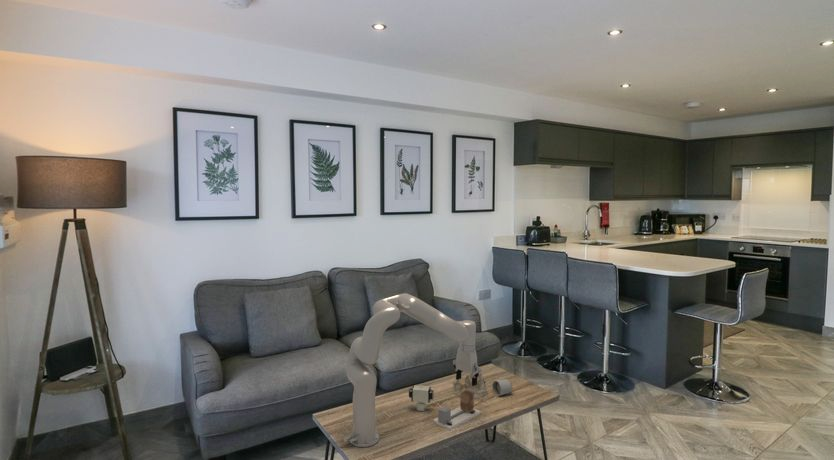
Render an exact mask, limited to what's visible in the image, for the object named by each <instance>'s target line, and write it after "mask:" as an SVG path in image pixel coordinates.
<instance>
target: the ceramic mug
mask: <svg viewBox="0 0 834 460" xmlns="http://www.w3.org/2000/svg"><path fill="white" fill-rule="evenodd" d="M491 386H492V391H493V393H494V394H495V396H497V397H498V396H499V397H500V396H503V395H508V394H510V393H511V392H512V391H513V384H512V382H511V381H510V380H509V379H506V378H505V379H504V378H503V379H498V380H496V379H495V380H493V382H492V385H491Z"/></svg>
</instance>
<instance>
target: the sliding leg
mask: <svg viewBox="0 0 834 460" xmlns="http://www.w3.org/2000/svg"><path fill="white" fill-rule="evenodd" d="M474 401H475V400H474V392H472V391H470V390H465V391H463V392H461V397H460V406H461V409H462V410H464V411H466V412H468V411H469V410H471V411H474V412H475V410H474V409H475V408H474V407H475V406H474V405H475V404H474V403H475V402H474ZM473 408H474V409H473Z"/></svg>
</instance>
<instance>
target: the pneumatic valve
mask: <svg viewBox="0 0 834 460" xmlns="http://www.w3.org/2000/svg"><path fill="white" fill-rule="evenodd" d="M434 396H435V392H434V389H432V386H429V385H427V386H426V385H417V384H415V385H412V387H411V388H410V387H409V389H408V398H410V400H411V402H413V403H415V408H416V410H417V411H421V412H425V411H426V410H427V409H428V404H430V403H431V401H433V400H434V398H435V397H434Z"/></svg>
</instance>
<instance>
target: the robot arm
mask: <svg viewBox="0 0 834 460" xmlns="http://www.w3.org/2000/svg"><path fill="white" fill-rule="evenodd" d="M372 313H373V315H372V316H371V317H370V318H369V319H368V321H366V324H365V326H364V328H363V333H362V336H359V337H358V336H357V338H355V339H354V340H353V342H352V343H351V345H350V349H349V352H348V353H349V354H348V358H347V363H346V368H345V374H346V378H347V379H348V380H349V381H350V382H351V384H352V386H353V394H352V430H350V434H349V435H347V436H345V437H343V442H344V443H347V442H350V444H351V445H353V446H355V447H357V448H358V447H359V448H369V447H371V446H374V445H376V444H377V443H378V442H379V441H380V435H379V433H378V432H377V431H376V430H377V429H376V426H377V425H376V390H377V383H378V381H377V375H376V373H375V372H374V371H373V370H372V369H371V368H370V366H371V365H374V364H375V363H376V362H377V361H378V359H379V357H380V350H381V346H382V340H383V337H384V333H385V331H387V329H388V328H389V327H391V326H392V325H394V324H396V323H397V322H398V321H399V320H400V317H401V313H404V314H406V315H407V316H409V317H410V318H412V319H415V320H417V321H418V322H420V323H422V324H424V325H425V326H426V327H428V328H430V329H432V330H435V331H437V332H439V333H442V334H444V335H445V336H446V337H447V338H449V339H452V340H454V341H456V342H458V343H457V345H459V347H458V348H457V351H456V352H457V353H456V355H455V356H456V358H455V359H453V360H452V364H453V368H454V370H455V371H454V372H456V373H455V378H456V380H459V379H461V378H462V372H465V373H467V374H470V373H471V374H472V376H473V378H472V386H475V385H477V377H478V376H479V375H480V374H481V372H482V373H483V369H482V368H481V367H480V366H479V365H478V354H477V351H476V335H477V334H476V333H477V331H476V330H477V324H476V322H475V321H473V320H470V319H465V320H459V321H457V320H454V319H453V318H451V317H449V316H447V315H446V314H444V313H443V312H441V311H440V310H438V309H436V308H435V307H434V306H432V305H430V304H428V303H426V302H425V301H423V300H422V299H420V298H418V297H417V296H414V295H411V294H410V293H406V292H405V293H400V294H399V293H398V294H395V295H393V296H389V297H386V298H382V299H379V300H377V301H376V302H375V303H374V305H372ZM474 373H475V374H474Z"/></svg>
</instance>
